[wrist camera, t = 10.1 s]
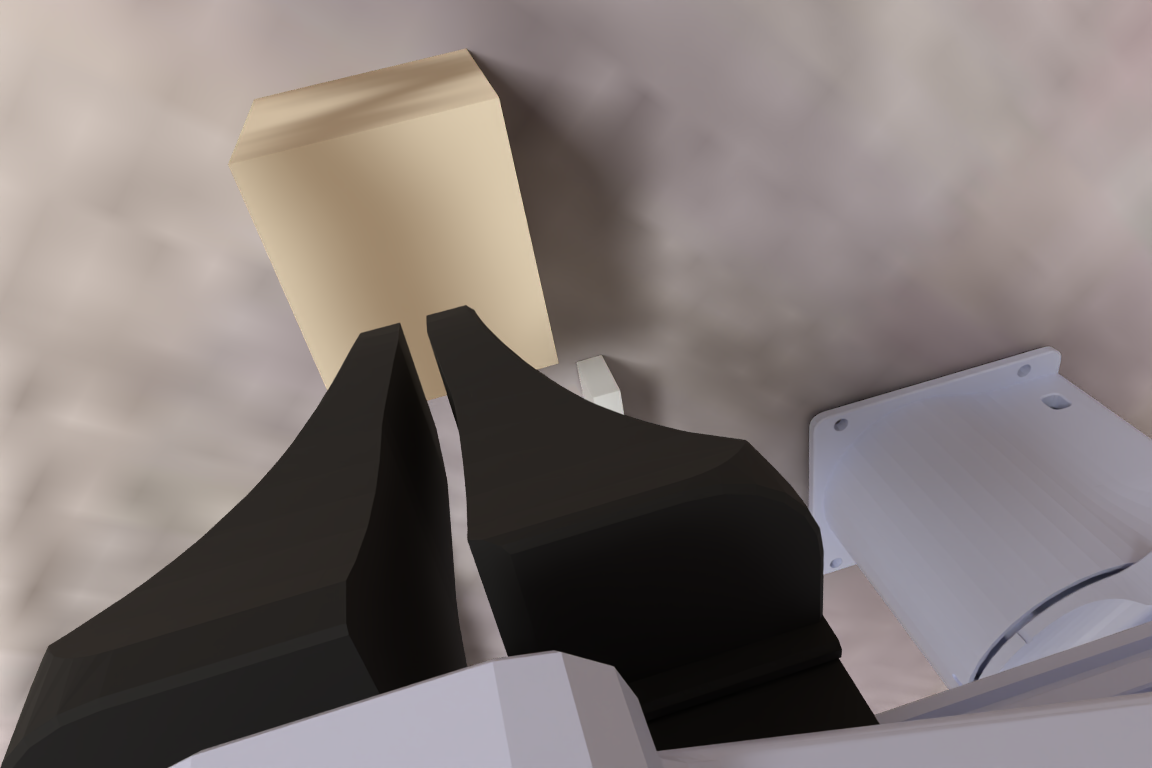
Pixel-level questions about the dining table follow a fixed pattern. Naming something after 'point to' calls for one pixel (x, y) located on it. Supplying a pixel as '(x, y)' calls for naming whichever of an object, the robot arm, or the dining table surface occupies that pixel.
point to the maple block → (393, 210)
